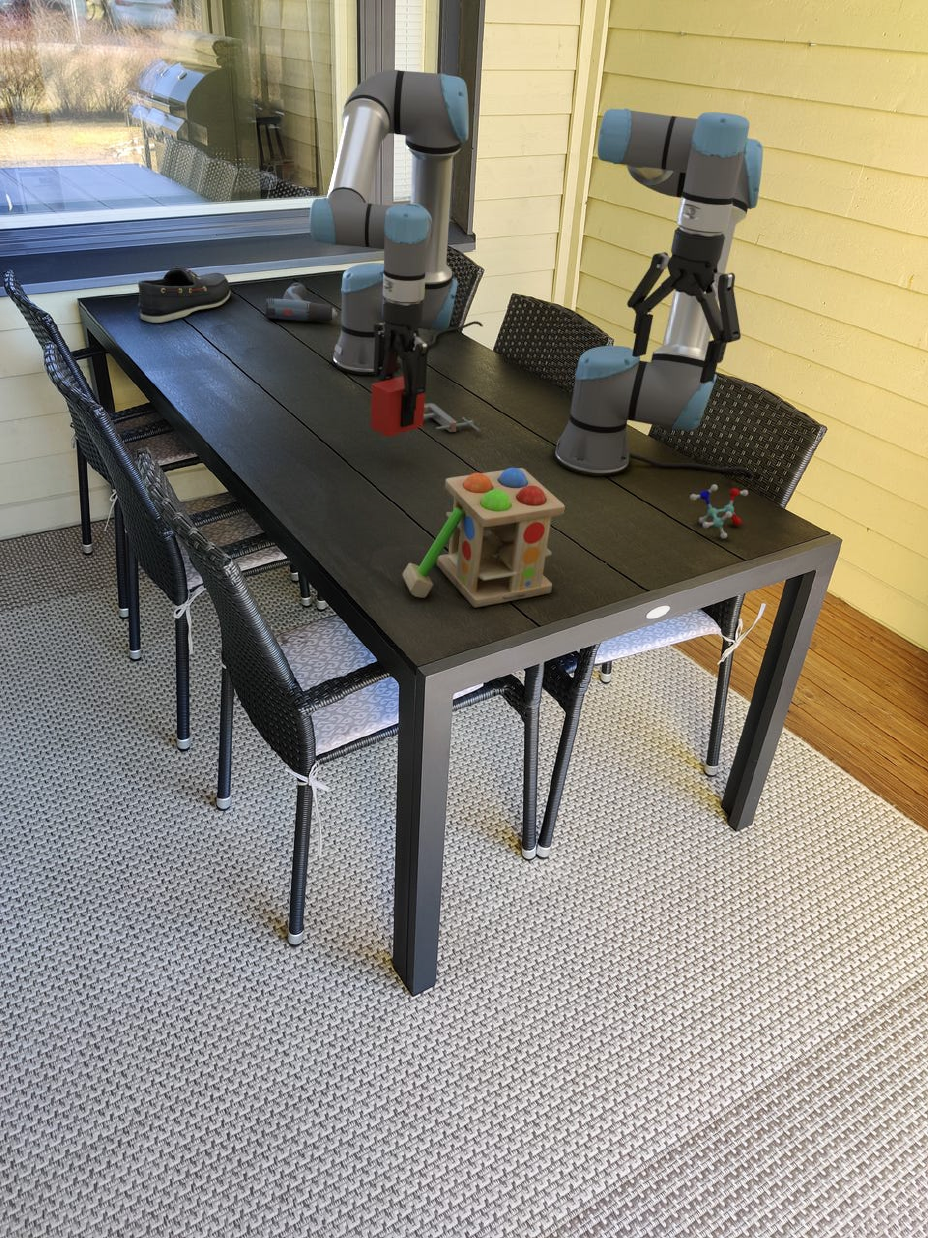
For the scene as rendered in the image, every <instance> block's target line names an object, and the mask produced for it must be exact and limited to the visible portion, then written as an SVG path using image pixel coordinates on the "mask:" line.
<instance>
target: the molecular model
mask: <svg viewBox="0 0 928 1238" xmlns="http://www.w3.org/2000/svg"><path fill="white" fill-rule="evenodd" d="M718 488H719V487H718V485H717V484H715V483H714V484H712V485H710V488H709V489H708V490H702V491H701V492H700V493H699V494H695V493H692V494H690V496H689V499H690V501H693V502H694V501H696V500H697V499H701V500H702V501H705V504H706V506H707V508H708V509H707V511H706V512H707V514H706V515H705V516H701V517H699V519H698V522H699V523H700V525H701V524H702V528H703V529H709V527H712V526H713V527H714V528H717V529H718V530H719V532H720V535H719V537H720V539H722V540H725V539H727V537H728V533H727V532H725V531H724V528H723V526H724V521H725V520H727V519H731V520H732V524H733V525H734V526H735V527H739V526H741V525H742V519H741V518H740V517H738V516H737V514H736V513H735V512H734V511H735V507H734V506H733V504H734V500H735V498H736V497H738V496H739V495H741V496H742V497H747V496H748V494H749V491H748V490H747V489H742V490H739V489H737V488H735V487H734V488H731V489H730V490H729V496H730V500H729V502H728V504H726V505H724V507H723V508H719V509H717V508H716V507H712V505H711V502H710V500H709V499H710V494H711V493H713V492H716V491H717V490H718ZM720 513H725V514H724V516H722V517H717V515H718V514H720ZM709 518H713V521H710V522H708V521H706V520H707V519H709Z"/></svg>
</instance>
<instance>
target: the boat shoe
mask: <svg viewBox="0 0 928 1238" xmlns="http://www.w3.org/2000/svg"><path fill="white" fill-rule="evenodd" d="M137 285H138V286H137V287H138V293H139V294H138V295H139V296H138V301H139V302H138V303H137V307H139V308H140V319H141V320H143V321H145V322H148V323H152V324H158V323H160V324H161V323H166V322H170V321H173V320H177V319H181V318H184V317H187V316H188V315H190V314H191V313H193V312H196V311H199V310H205V309H211V308H216V307H219V306H222V305H223V304H225V303H226V302H227V301H228V300H229V298H230V296H231V294H232V293H231V287H230V282H229V280H228V279H227V277H226V276H225V274H223V273H220V272H211V273H205V274H201V275H198V274H197V273H195V272H194V271H192V270H190V269H189V268H182V267H180V266H176V267H173V268H171V269H170V270H168V271H167V272H166V273H165V274H164V276H163V277H162V278H158V279H143V280H139V281H138V282H137Z"/></svg>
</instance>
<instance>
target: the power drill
mask: <svg viewBox="0 0 928 1238" xmlns="http://www.w3.org/2000/svg"><path fill="white" fill-rule="evenodd" d="M307 295H308V290H307V287H306V285H304V284H303V283H301V282H293V283H292V284H291V285H290V286H289V287H288V288H287V289H286V291H285V292H284V294H283V297H282V298H266V299H265V302H264V313H265V314H264V316H265V318H267V319H274V320H275V319H276V320H283V321H294V322H295V321H297V322H332V321H333V320H334V319H336V318H337V317H338V312H337V311H336V308H334V307H333V306H332V305H331V304H324V303H317V302H313V301H307V300H305V299H306V297H307Z"/></svg>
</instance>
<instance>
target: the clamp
mask: <svg viewBox="0 0 928 1238" xmlns="http://www.w3.org/2000/svg"><path fill="white" fill-rule="evenodd" d="M428 419H433V420H434V421H435V422H436V423H438V424H439V425H440V426H436V427H435V430H443V431H444V430H446V431H448V432H449V433H454V432H457V428H461V427H466V428H470V427H471V428H473V429H474V430H476V433H477V434H479V433H481V432H482V428H479V427H477V426H476V425H475V424H474V420H472V419H470V420H467V419H466V417H465V416H462V417H461V418H460V420H461V421H462V422H457V421H456V420H455V419H454V418H453V417H451V416H450V415H449V414H448V413H446V412H445V411H444V410H443V409H442V408H440V407H438V405H436V404H435V403H433V402H431V403H430V402H429V403H424V418H423V421H427V420H428Z"/></svg>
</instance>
